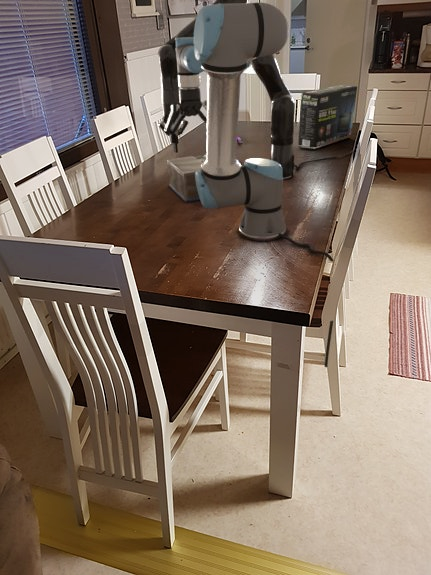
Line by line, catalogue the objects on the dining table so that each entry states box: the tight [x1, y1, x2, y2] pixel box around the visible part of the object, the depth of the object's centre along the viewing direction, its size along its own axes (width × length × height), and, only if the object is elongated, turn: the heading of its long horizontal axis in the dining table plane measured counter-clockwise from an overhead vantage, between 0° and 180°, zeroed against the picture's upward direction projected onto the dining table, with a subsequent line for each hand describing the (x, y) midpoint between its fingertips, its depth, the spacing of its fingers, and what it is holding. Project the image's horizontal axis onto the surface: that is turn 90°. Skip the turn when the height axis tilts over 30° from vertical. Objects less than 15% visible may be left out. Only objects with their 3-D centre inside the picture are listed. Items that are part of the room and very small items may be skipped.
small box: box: [166, 155, 202, 203], centre depth 183 cm, size 21×11×11 cm, turn 22°
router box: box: [297, 84, 358, 151], centre depth 238 cm, size 36×11×27 cm, turn 134°
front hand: (193, 149), depth 170 cm, fingers open, 13 cm apart
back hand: (174, 145), depth 191 cm, fingers closed
